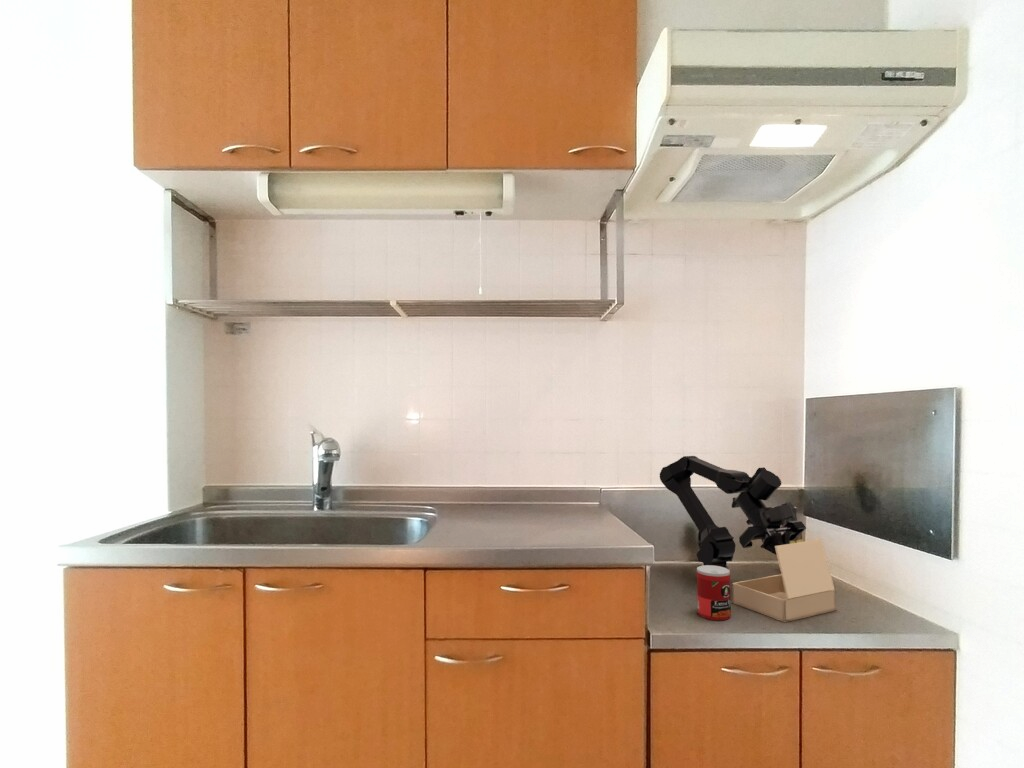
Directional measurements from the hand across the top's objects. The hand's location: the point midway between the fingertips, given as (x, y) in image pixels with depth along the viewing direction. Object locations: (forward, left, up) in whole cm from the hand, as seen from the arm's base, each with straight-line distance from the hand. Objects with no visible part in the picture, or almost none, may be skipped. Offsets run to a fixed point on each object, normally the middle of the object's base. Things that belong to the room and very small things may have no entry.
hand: (793, 562), depth 148 cm
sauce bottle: (+3, +37, -12) cm, 39 cm away
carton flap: (+2, -2, -1) cm, 3 cm away
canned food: (-19, -9, -12) cm, 24 cm away
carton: (-2, +2, -12) cm, 12 cm away
